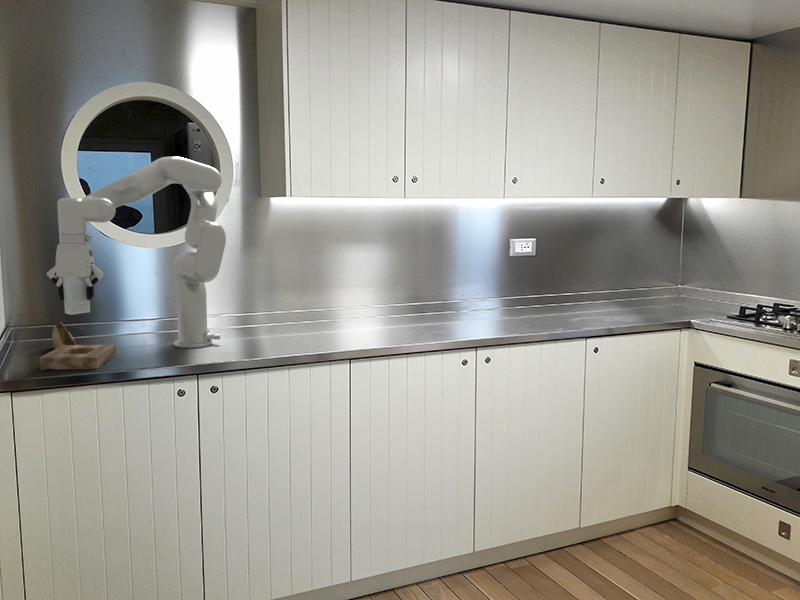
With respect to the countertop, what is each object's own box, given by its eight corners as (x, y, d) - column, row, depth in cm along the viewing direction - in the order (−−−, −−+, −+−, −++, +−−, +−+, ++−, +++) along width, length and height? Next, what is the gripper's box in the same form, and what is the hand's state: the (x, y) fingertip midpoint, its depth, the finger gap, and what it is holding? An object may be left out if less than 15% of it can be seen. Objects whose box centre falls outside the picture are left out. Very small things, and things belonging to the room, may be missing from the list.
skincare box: (83, 311, 217) (81, 272, 215) (90, 312, 214) (88, 273, 212) (63, 313, 212) (61, 273, 210) (70, 315, 209) (68, 274, 208)
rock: (43, 341, 235) (41, 342, 226) (59, 319, 237) (58, 320, 227) (73, 358, 238) (71, 361, 229) (89, 337, 240) (88, 338, 231)
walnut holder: (115, 355, 225) (115, 344, 224) (97, 368, 207) (96, 357, 207) (63, 356, 223) (62, 345, 223) (40, 369, 206) (39, 357, 205)
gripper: (107, 239, 215) (110, 297, 217) (47, 239, 213) (51, 297, 215) (99, 240, 207) (102, 301, 210) (37, 240, 205) (41, 301, 208)
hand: (76, 298), depth 213 cm, fingers closed on skincare box, 7 cm apart
